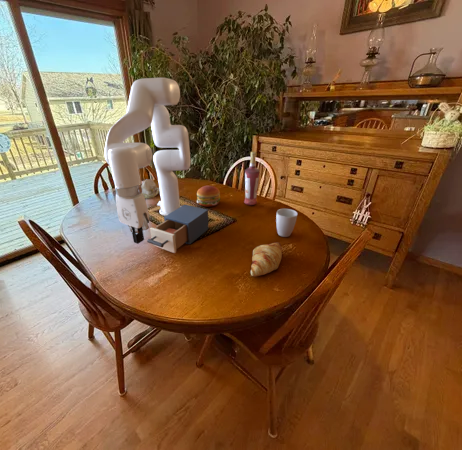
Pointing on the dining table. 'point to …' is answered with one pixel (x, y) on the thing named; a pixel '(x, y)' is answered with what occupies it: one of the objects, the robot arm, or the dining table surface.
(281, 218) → the cup
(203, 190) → the burger
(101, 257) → the dining table surface
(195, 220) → the cabinet
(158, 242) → the drawer
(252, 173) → the liquor
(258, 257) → the croissant
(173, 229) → the block
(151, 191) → the ceramic model
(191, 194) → the dining table surface
